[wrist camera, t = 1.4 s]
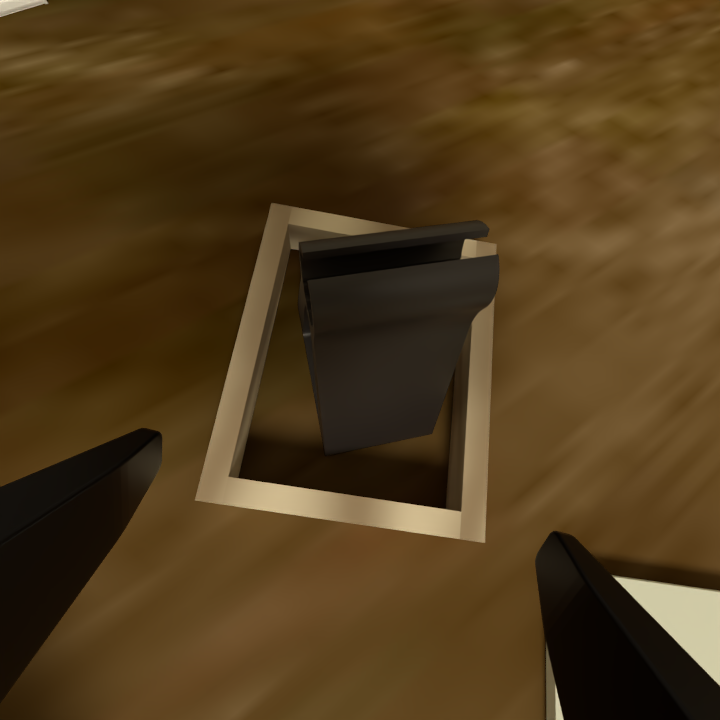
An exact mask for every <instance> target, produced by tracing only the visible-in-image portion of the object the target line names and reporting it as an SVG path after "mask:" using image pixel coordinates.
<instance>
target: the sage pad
mask: <svg viewBox="0 0 720 720" xmlns="http://www.w3.org/2000/svg"><path fill="white" fill-rule="evenodd" d="M612 576H613V577H614V578H615V579H616V580H617V581H618V582H619V583H620V584H621V585H622V586H623V587H624V588H625V589H626V590H627V591H628V592H629V593H630V594H631V595H632V596H633V597H634V599H635V600H636V601H637V602H638V603H639V604H640V605H641V606H642V607H643V608H644V609H645V610H646V611H647V612H648V613H649V614H650V615H651V616H652V617H653V618H654V619H655V620H656V621H657V622H658V623H659V624H660V625H661V626H662V627H663V628H664V629H665V630H666V631H667V632H668V633H669V634H670V635H671V636H672V637H673V638H674V639H675V640H676V641H677V642H678V644H679V645H680V646H681V647H682V648H683V649H684V650H685V651H686V652H687V653H688V654H689V655H690V656H691V657H692V658H693V659H694V660H695V661H696V662H697V663H698V664H699V665H700V666H701V667H702V668H703V669H704V670H705V671H706V672H707V673H708V674H709V675H710V676H711V677H712V678H713V679H714V680H715V681H716V682H717V683H718V684H719V685H720V591H719V590H712V589H705V588H698V587H691V586H684V585H677V584H670V583H663V582H656V581H649V580H643V579H636V578H629V577H622V576H615V575H612ZM546 720H563V715H562V711H561V706H560V702H559V698H558V693H557V689H556V684H555V680H554V676H553V671H552V667H551V662H550V658H549V653H548V649H547V644H546Z"/></svg>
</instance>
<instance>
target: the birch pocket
mask: <svg viewBox="0 0 720 720" xmlns="http://www.w3.org/2000/svg"><path fill="white" fill-rule="evenodd" d="M401 229H410V228H406V227H400V226H395V225H389V224H384V223H378V222H373V221H368V220H362V219H357V218H351V217H346V216H341V215H335V214H330V213H324V212H319V211H313V210H308V209H303V208H297V207H292V206H286V205H281V204H276V203H271V207H270V211H269V215H268V219H267V223H266V226H265V230H264V234H263V238H262V242H261V246H260V250H259V254H258V258H257V261H256V265H255V269H254V273H253V277H252V281H251V285H250V289H249V292H248V296H247V300H246V304H245V308H244V312H243V316H242V320H241V323H240V327H239V331H238V335H237V339H236V343H235V347H234V351H233V354H232V358H231V362H230V366H229V370H228V374H227V378H226V382H225V386H224V389H223V393H222V397H221V401H220V405H219V409H218V413H217V417H216V420H215V424H214V428H213V432H212V436H211V440H210V444H209V448H208V451H207V455H206V459H205V463H204V467H203V471H202V475H201V479H200V482H199V486H198V490H197V494H196V498H195V500H196V501H203V502H210V503H217V504H223V505H230V506H237V507H244V508H251V509H258V510H264V511H271V512H278V513H285V514H292V515H299V516H305V517H312V518H319V519H326V520H333V521H340V522H346V523H353V524H360V525H367V526H374V527H381V528H388V529H394V530H401V531H408V532H415V533H422V534H429V535H435V536H442V537H449V538H456V539H463V540H470V541H476V542H483V543H485V528H486V502H487V476H488V450H489V424H490V398H491V372H492V346H493V320H494V298H493V300H492V302H491V303H490V305H489V306H487V307H486V308H484V309H483V310H481V311H480V312H479V313H478V314H477V315H476V317H475V318H474V320H473V321H472V323H471V325H470V328H469V330H468V333H467V336H466V339H465V342H464V344H463V347H462V350H461V353H460V356H459V359H458V361H457V364H456V367H455V380H454V394H453V409H452V423H451V438H450V452H449V467H448V481H447V496H446V509H440V508H433V507H427V506H420V505H413V504H407V503H400V502H393V501H387V500H380V499H373V498H367V497H360V496H353V495H346V494H340V493H333V492H326V491H320V490H313V489H306V488H300V487H293V486H286V485H280V484H273V483H266V482H260V481H253V480H246V479H240V478H238V477H239V473H240V469H241V464H242V460H243V456H244V451H245V447H246V442H247V438H248V434H249V429H250V425H251V421H252V416H253V412H254V407H255V403H256V399H257V394H258V390H259V386H260V381H261V377H262V373H263V368H264V364H265V359H266V355H267V351H268V346H269V342H270V338H271V333H272V329H273V325H274V320H275V316H276V311H277V307H278V303H279V298H280V294H281V290H282V285H283V281H284V276H285V272H286V268H287V263H288V259H289V255H290V250H291V249H295V250H299V242H303V241H311V240H319V239H328V238H336V237H344V236H352V235H360V234H369V233H377V232H385V231H393V230H401ZM489 255H496V244H492V243H487V242H481V241H476V240H471V239H465V241H464V244H463V248H462V255H461V259H467V258H475V257H482V256H489Z"/></svg>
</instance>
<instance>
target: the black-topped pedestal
mask: <svg viewBox="0 0 720 720" xmlns="http://www.w3.org/2000/svg"><path fill="white" fill-rule="evenodd" d="M44 3H45V4H48V2H47V0H0V17H2V16H5V15H8V14H11V13H15V12H18V11H21V10H25V9H28V8H31V7H34V6H38V5H41V4H44Z"/></svg>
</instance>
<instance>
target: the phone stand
mask: <svg viewBox="0 0 720 720" xmlns="http://www.w3.org/2000/svg"><path fill="white" fill-rule="evenodd" d="M488 232H489V228H488V227H487V226H486V224H484V223H483V222H481V221H478V220H475V221H467V222H459V223H451V224H443V225H434V226H426V227H418V228H410V229H401V230H393V231H385V232H377V233H369V234H360V235H352V236H344V237H336V238H328V239H319V240H311V241H303V242H299V258H300V269H301V280H300V288H299V297H298V309H299V315H300V320H301V326H302V331H303V337H304V342H305V348H306V353H307V359H308V364H309V370H310V375H311V381H312V386H313V392H314V397H315V403H316V408H317V414H318V419H319V425H320V430H321V436H322V441H323V447H324V452H325V456H327V455H332V454H337V453H342V452H347V451H352V450H356V449H361V448H366V447H371V446H376V445H381V444H385V443H390V442H395V441H400V440H405V439H410V438H414V437H419V436H424V435H429V434H432V432H433V429H434V426H435V424H436V421H437V418H438V415H439V412H440V410H441V407H442V404H443V401H444V398H445V395H446V393H447V390H448V387H449V384H450V381H451V378H452V376H453V373H454V370H455V367H456V364H457V361H458V359H459V356H460V353H461V350H462V347H463V344H464V342H465V339H466V336H467V333H468V330H469V328H470V325H471V323H472V321H473V320H474V318H475V317H476V315H477V314H478V313H479V312H480V311H481V310H483V309H484V308H486V307H487V306H489V305H490V303H491V302H492V300H493V298H494V296H495V294H496V291H497V287H498V281H499V256H498V254H497V255H489V256H482V257H475V258H467V259H461V255H462V248H463V244H464V241H465V239H472V238H480V237H487V235H488Z"/></svg>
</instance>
